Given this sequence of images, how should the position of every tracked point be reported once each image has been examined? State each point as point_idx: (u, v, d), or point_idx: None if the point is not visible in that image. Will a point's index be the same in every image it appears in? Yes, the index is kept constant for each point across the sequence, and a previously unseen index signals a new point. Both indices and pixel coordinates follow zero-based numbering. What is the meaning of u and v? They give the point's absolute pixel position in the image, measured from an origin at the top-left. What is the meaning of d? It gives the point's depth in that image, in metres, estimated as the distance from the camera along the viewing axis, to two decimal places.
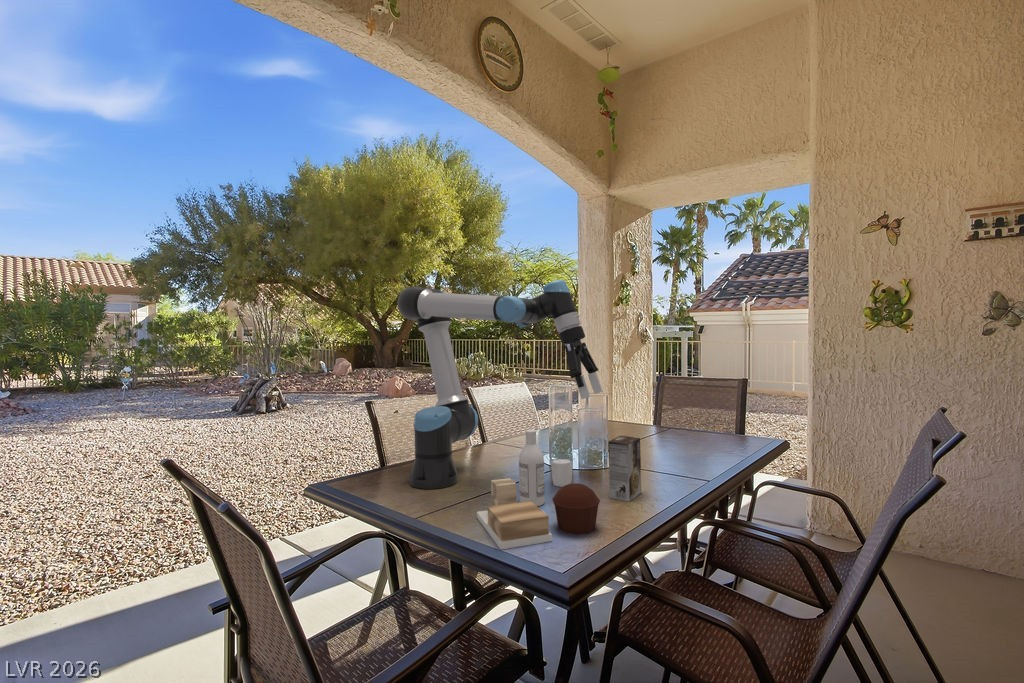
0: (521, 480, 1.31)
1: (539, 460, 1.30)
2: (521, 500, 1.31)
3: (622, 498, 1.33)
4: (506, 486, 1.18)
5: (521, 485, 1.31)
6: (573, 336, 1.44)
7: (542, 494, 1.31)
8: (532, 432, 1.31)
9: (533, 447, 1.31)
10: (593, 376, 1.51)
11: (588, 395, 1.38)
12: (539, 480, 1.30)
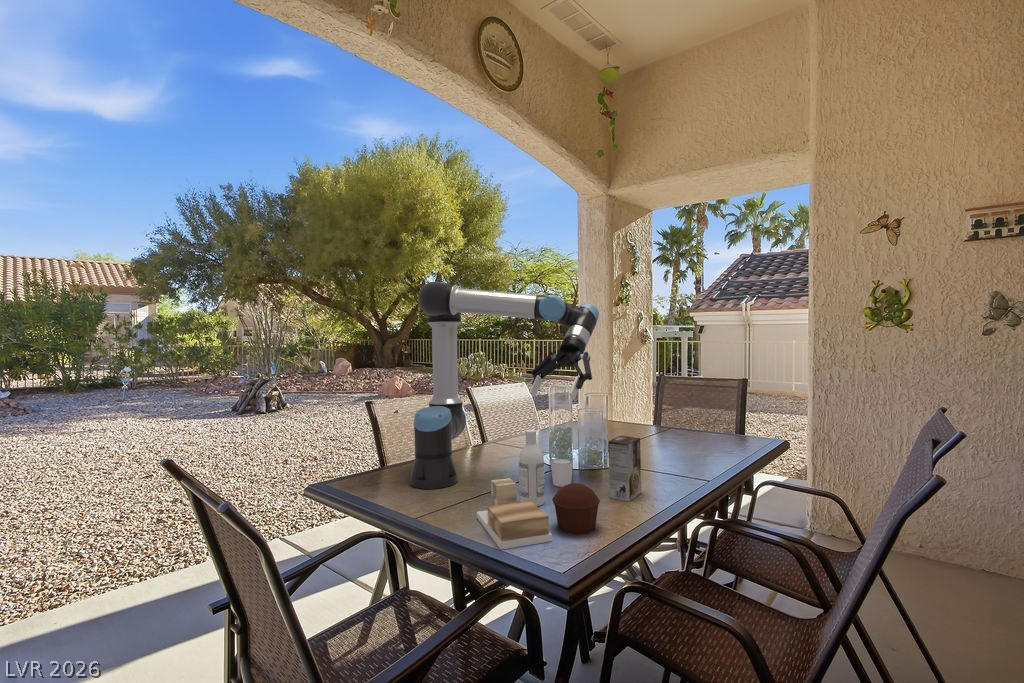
0: (521, 480, 1.31)
1: (539, 460, 1.30)
2: (521, 500, 1.31)
3: (622, 498, 1.33)
4: (506, 486, 1.18)
5: (521, 485, 1.31)
6: (583, 352, 1.50)
7: (542, 494, 1.31)
8: (532, 432, 1.31)
9: (533, 447, 1.31)
10: (539, 381, 1.48)
11: (574, 397, 1.38)
12: (539, 480, 1.30)
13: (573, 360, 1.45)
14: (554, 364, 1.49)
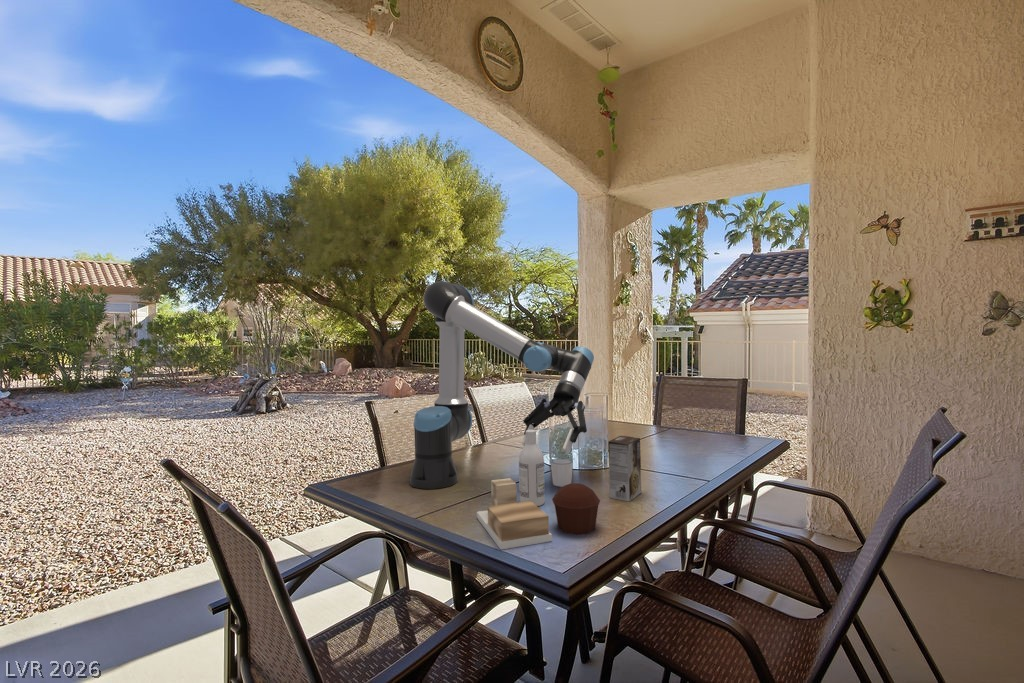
0: (521, 480, 1.31)
1: (539, 460, 1.30)
2: (521, 500, 1.31)
3: (622, 498, 1.33)
4: (506, 486, 1.18)
5: (521, 485, 1.31)
6: (577, 400, 1.45)
7: (542, 494, 1.31)
8: (532, 432, 1.31)
9: (533, 447, 1.31)
10: None
11: (568, 451, 1.32)
12: (539, 480, 1.30)
13: (567, 410, 1.40)
14: (547, 413, 1.44)
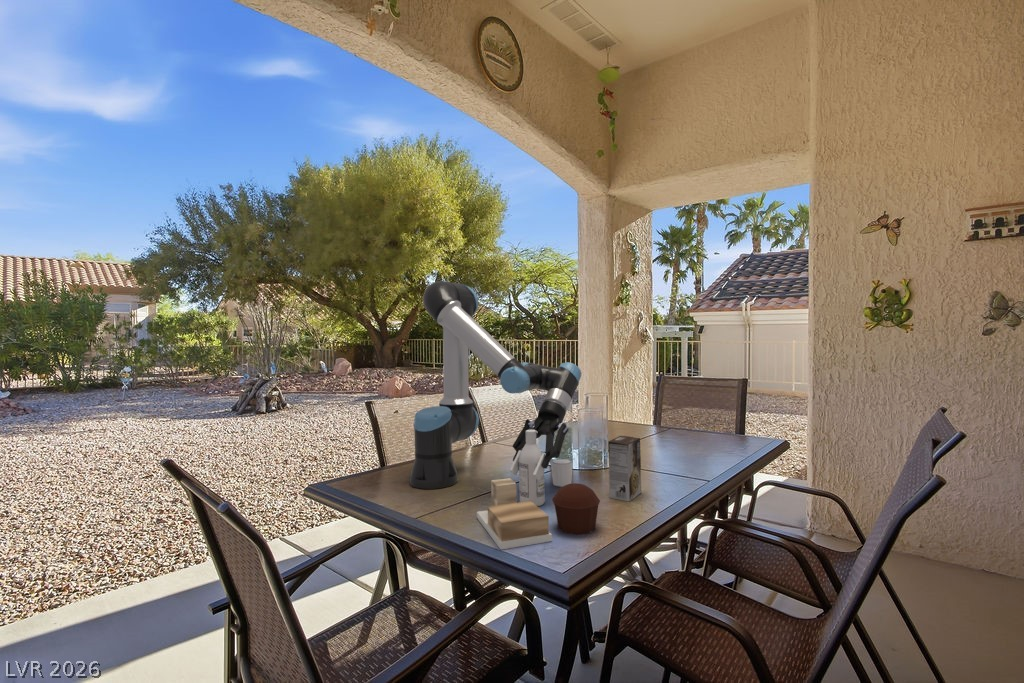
0: (521, 480, 1.31)
1: None
2: (521, 500, 1.31)
3: (622, 498, 1.33)
4: (506, 486, 1.18)
5: (521, 485, 1.31)
6: None
7: (542, 494, 1.31)
8: (532, 432, 1.31)
9: (533, 447, 1.31)
10: None
11: (539, 478, 1.28)
12: (539, 480, 1.30)
13: (548, 431, 1.35)
14: None
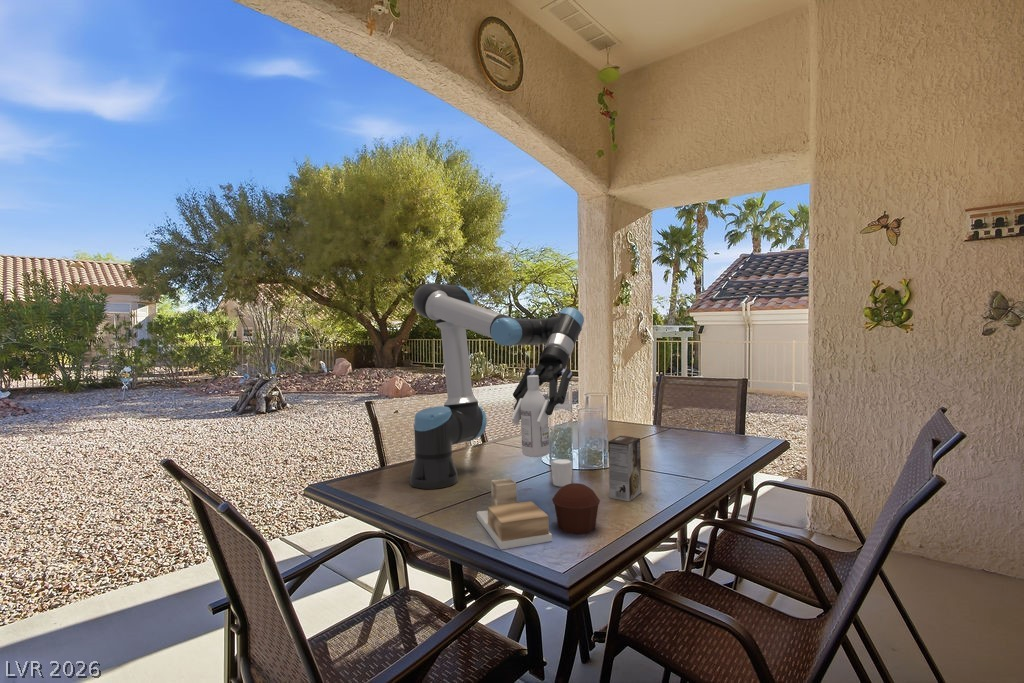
0: (523, 429, 1.21)
1: None
2: (524, 451, 1.21)
3: (622, 498, 1.33)
4: (506, 486, 1.18)
5: (524, 434, 1.21)
6: (566, 365, 1.30)
7: (546, 443, 1.21)
8: (534, 377, 1.21)
9: (535, 393, 1.20)
10: None
11: (543, 425, 1.18)
12: (543, 428, 1.20)
13: (551, 377, 1.25)
14: None
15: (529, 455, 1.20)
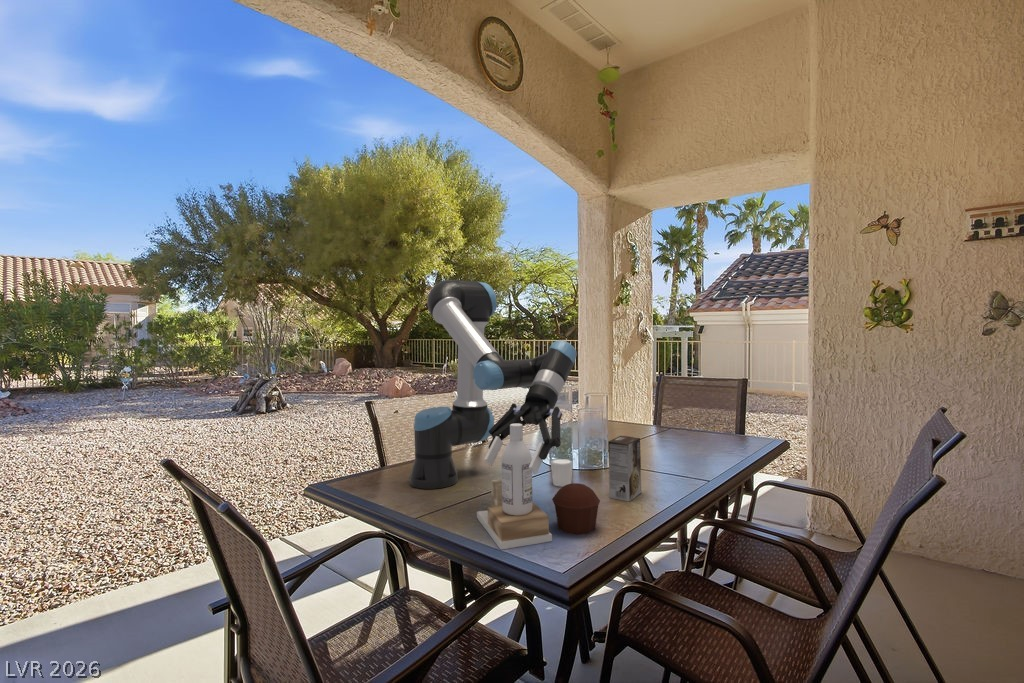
0: (504, 484, 1.09)
1: (525, 461, 1.08)
2: (504, 507, 1.09)
3: (622, 498, 1.33)
4: None
5: (504, 490, 1.09)
6: (554, 405, 1.18)
7: (529, 500, 1.09)
8: (517, 426, 1.09)
9: (518, 445, 1.09)
10: (499, 444, 1.16)
11: (536, 471, 1.06)
12: (525, 484, 1.08)
13: (539, 418, 1.13)
14: (517, 421, 1.17)
15: (509, 513, 1.08)
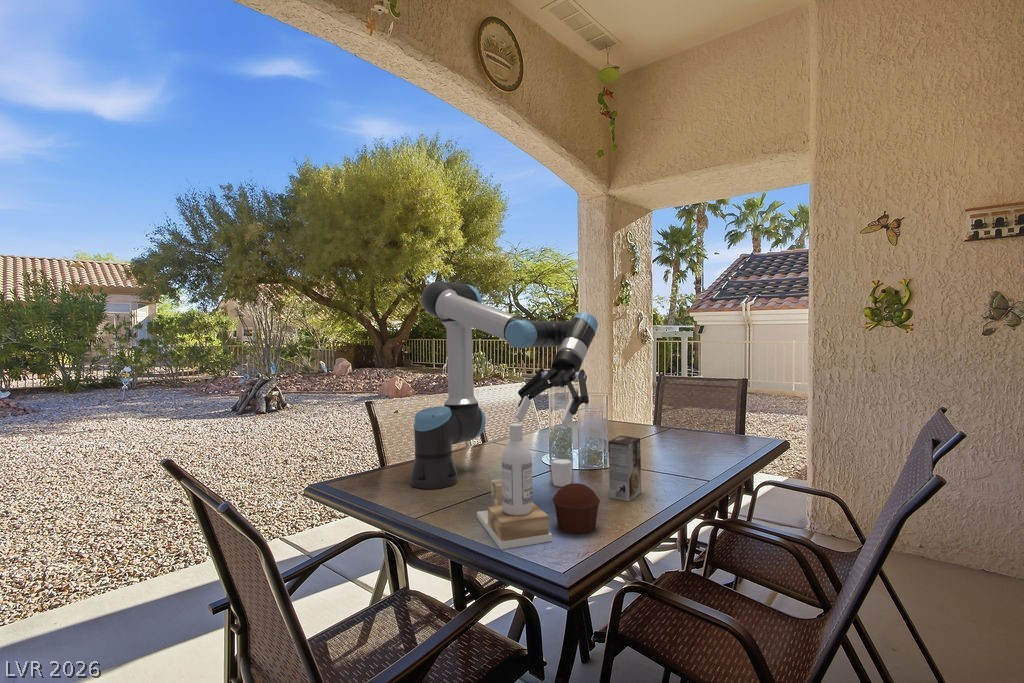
0: (504, 484, 1.09)
1: (525, 460, 1.09)
2: (504, 507, 1.10)
3: (622, 498, 1.33)
4: None
5: (504, 490, 1.09)
6: (578, 369, 1.29)
7: (529, 500, 1.09)
8: (517, 426, 1.10)
9: (518, 444, 1.09)
10: (527, 403, 1.27)
11: (567, 424, 1.16)
12: (525, 484, 1.08)
13: (567, 379, 1.24)
14: (545, 383, 1.28)
15: (509, 513, 1.08)
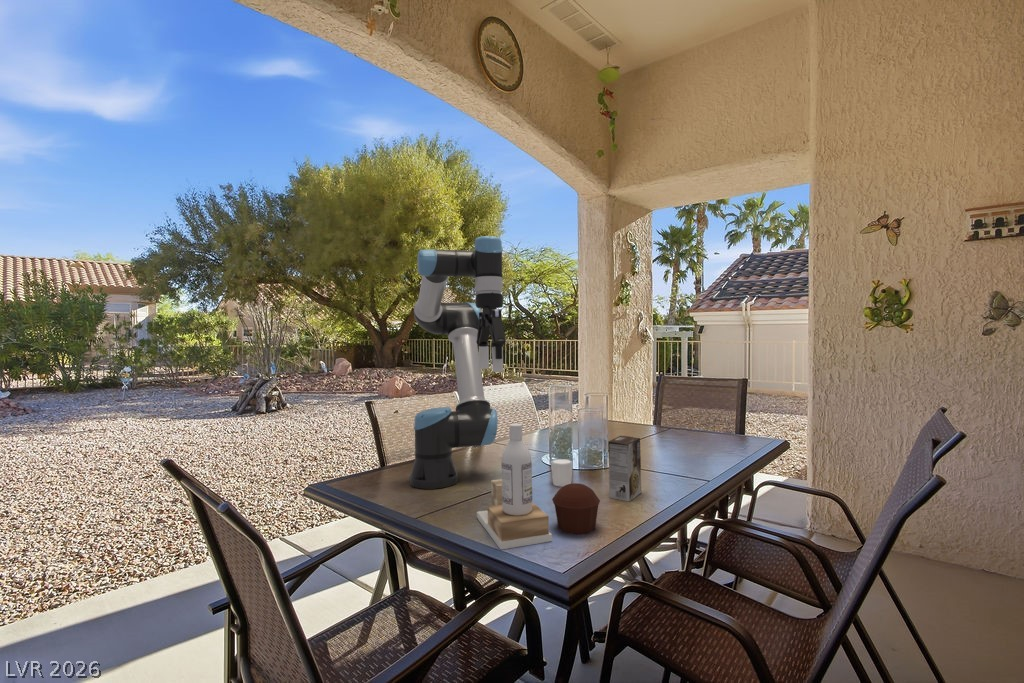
0: (504, 484, 1.09)
1: (525, 460, 1.09)
2: (504, 508, 1.10)
3: (622, 498, 1.33)
4: None
5: (504, 490, 1.09)
6: (497, 303, 1.30)
7: (529, 500, 1.09)
8: (517, 426, 1.10)
9: (518, 444, 1.09)
10: (484, 350, 1.39)
11: (501, 369, 1.27)
12: (525, 484, 1.08)
13: (487, 325, 1.29)
14: (484, 328, 1.36)
15: (509, 513, 1.08)
